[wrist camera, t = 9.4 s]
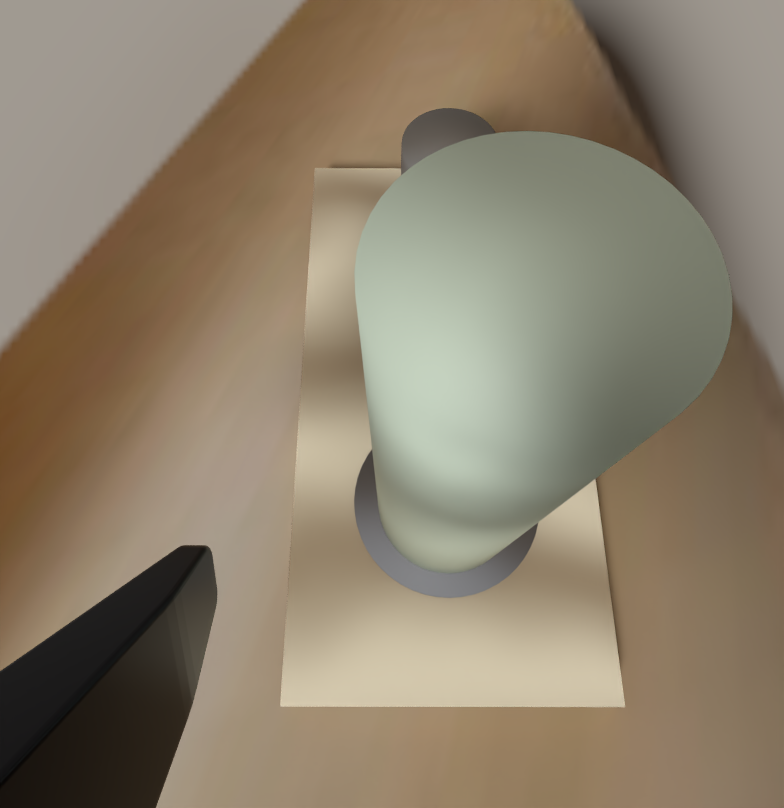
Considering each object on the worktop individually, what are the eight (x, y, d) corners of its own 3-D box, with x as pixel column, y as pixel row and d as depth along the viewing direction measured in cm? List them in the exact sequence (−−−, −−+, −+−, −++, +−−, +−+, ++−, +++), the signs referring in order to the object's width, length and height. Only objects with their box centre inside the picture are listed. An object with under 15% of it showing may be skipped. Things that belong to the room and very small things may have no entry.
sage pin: (538, 541, 19) (812, 367, 6) (409, 595, 18) (446, 517, 6) (479, 420, 20) (611, 93, 8) (358, 466, 19) (303, 190, 7)
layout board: (610, 702, 18) (717, 734, 12) (287, 702, 18) (236, 733, 12) (548, 189, 26) (596, 53, 20) (318, 188, 26) (296, 52, 20)
